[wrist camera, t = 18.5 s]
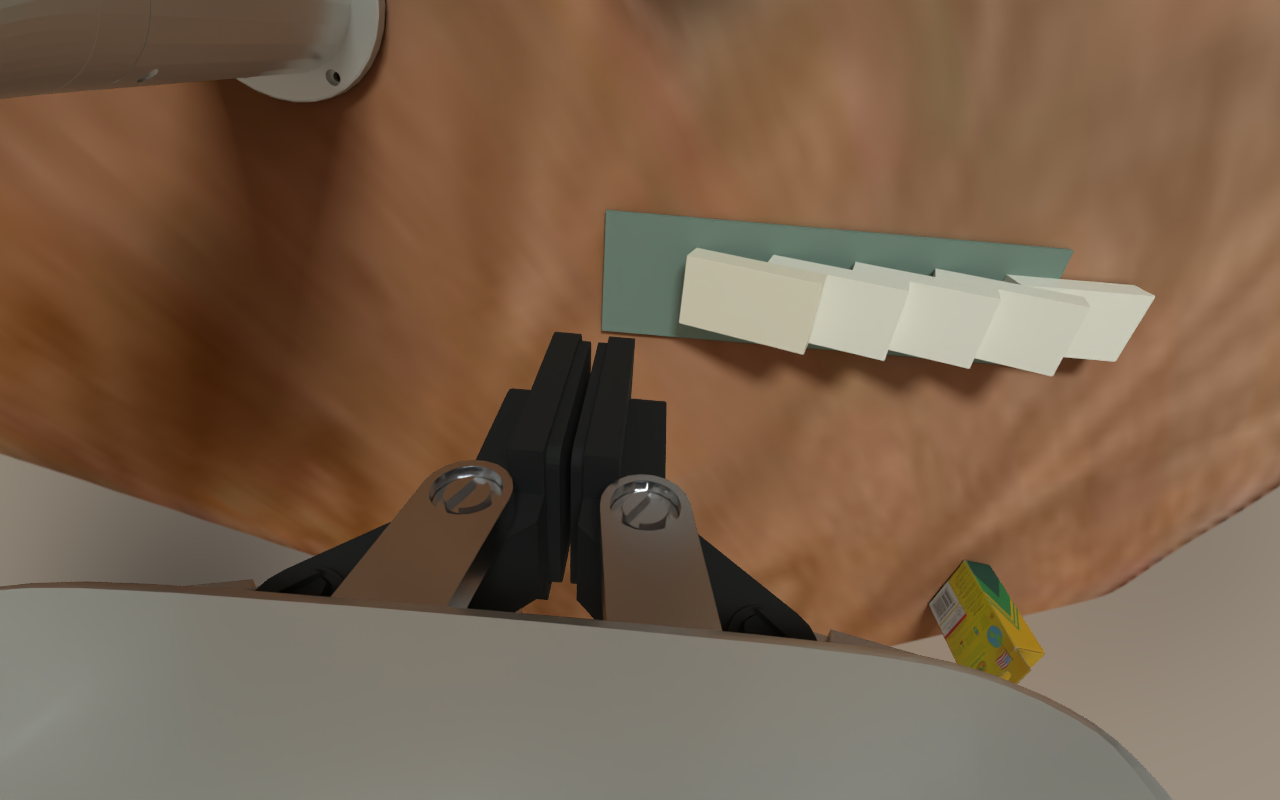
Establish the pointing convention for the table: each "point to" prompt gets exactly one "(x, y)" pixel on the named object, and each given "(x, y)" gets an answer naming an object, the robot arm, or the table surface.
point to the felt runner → (659, 244)
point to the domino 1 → (751, 299)
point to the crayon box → (984, 624)
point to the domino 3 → (940, 316)
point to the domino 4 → (1027, 324)
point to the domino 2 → (854, 308)
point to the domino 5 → (1098, 314)
